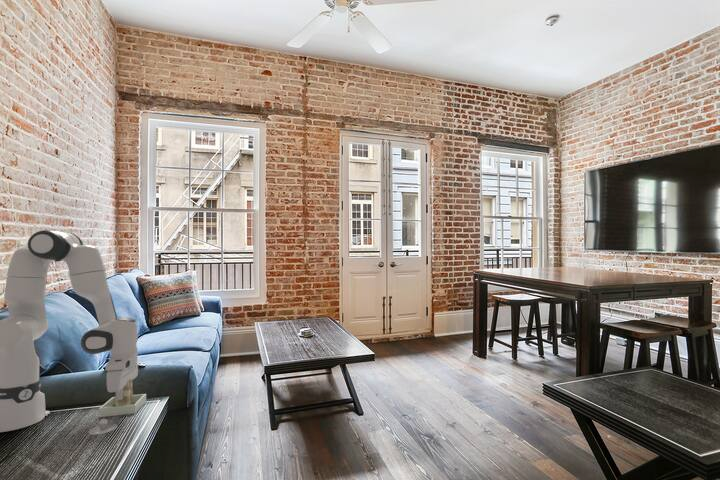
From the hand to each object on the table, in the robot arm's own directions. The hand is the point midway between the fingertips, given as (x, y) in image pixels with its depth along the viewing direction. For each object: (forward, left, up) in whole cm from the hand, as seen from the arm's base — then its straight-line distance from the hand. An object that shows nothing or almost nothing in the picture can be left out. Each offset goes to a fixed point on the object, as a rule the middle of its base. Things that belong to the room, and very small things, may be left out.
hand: (123, 396), depth 140 cm
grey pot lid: (+12, -13, -6) cm, 19 cm away
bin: (0, 0, -6) cm, 6 cm away
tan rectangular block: (0, +1, -3) cm, 3 cm away
